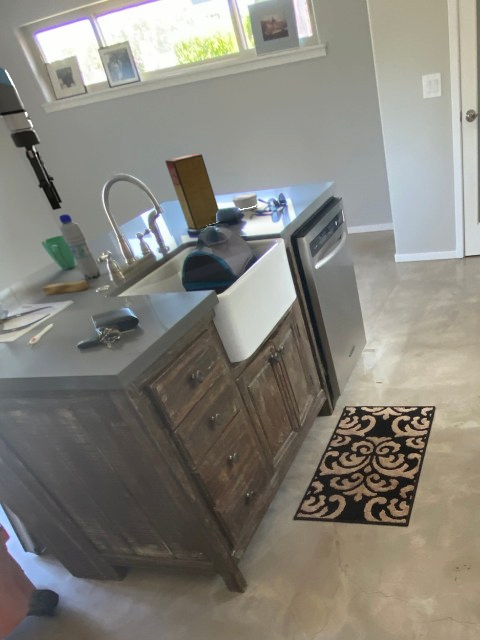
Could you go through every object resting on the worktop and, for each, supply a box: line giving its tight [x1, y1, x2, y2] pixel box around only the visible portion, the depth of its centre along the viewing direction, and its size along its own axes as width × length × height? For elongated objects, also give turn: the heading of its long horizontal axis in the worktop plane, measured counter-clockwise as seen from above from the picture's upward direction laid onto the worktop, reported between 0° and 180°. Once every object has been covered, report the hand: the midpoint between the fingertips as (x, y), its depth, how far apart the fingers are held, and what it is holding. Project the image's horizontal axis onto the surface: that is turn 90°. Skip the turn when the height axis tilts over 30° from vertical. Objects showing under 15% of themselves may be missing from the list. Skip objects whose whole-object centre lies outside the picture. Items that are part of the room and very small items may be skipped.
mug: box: [40, 235, 76, 270], centre depth 195 cm, size 15×10×10 cm
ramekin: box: [231, 192, 258, 212], centre depth 238 cm, size 11×11×5 cm
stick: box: [42, 279, 89, 296], centre depth 175 cm, size 14×3×2 cm, turn 89°
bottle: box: [59, 213, 101, 279], centre depth 179 cm, size 7×7×20 cm
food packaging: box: [164, 153, 220, 231], centre depth 218 cm, size 13×9×25 cm
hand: (57, 206), depth 179 cm, fingers open, 13 cm apart
